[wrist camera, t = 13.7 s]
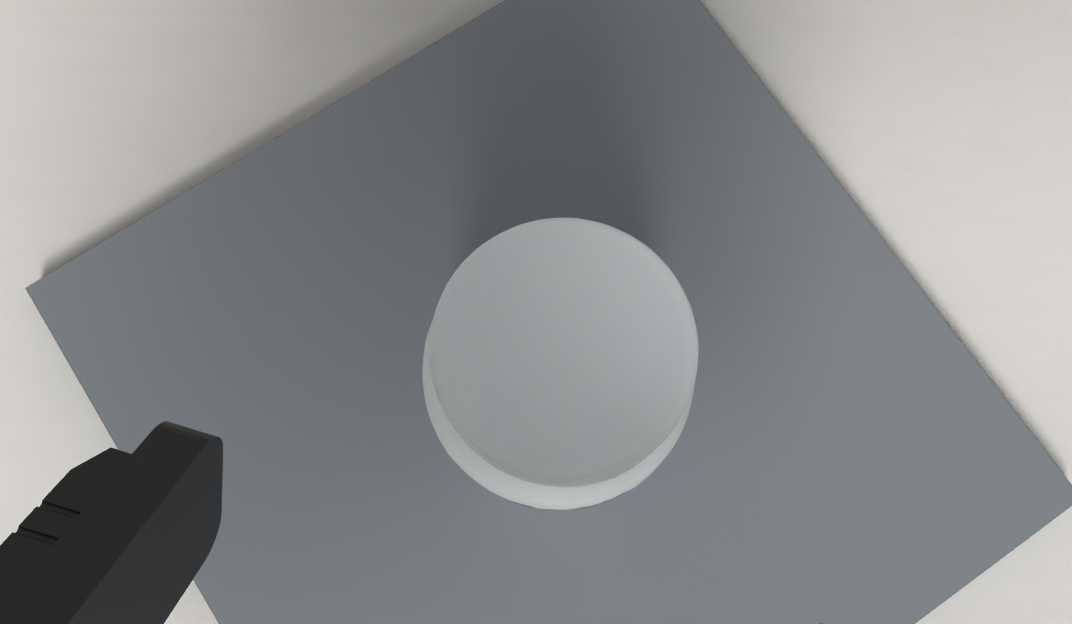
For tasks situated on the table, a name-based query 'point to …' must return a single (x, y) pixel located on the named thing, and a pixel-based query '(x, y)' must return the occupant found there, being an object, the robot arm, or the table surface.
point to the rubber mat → (409, 306)
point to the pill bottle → (560, 363)
